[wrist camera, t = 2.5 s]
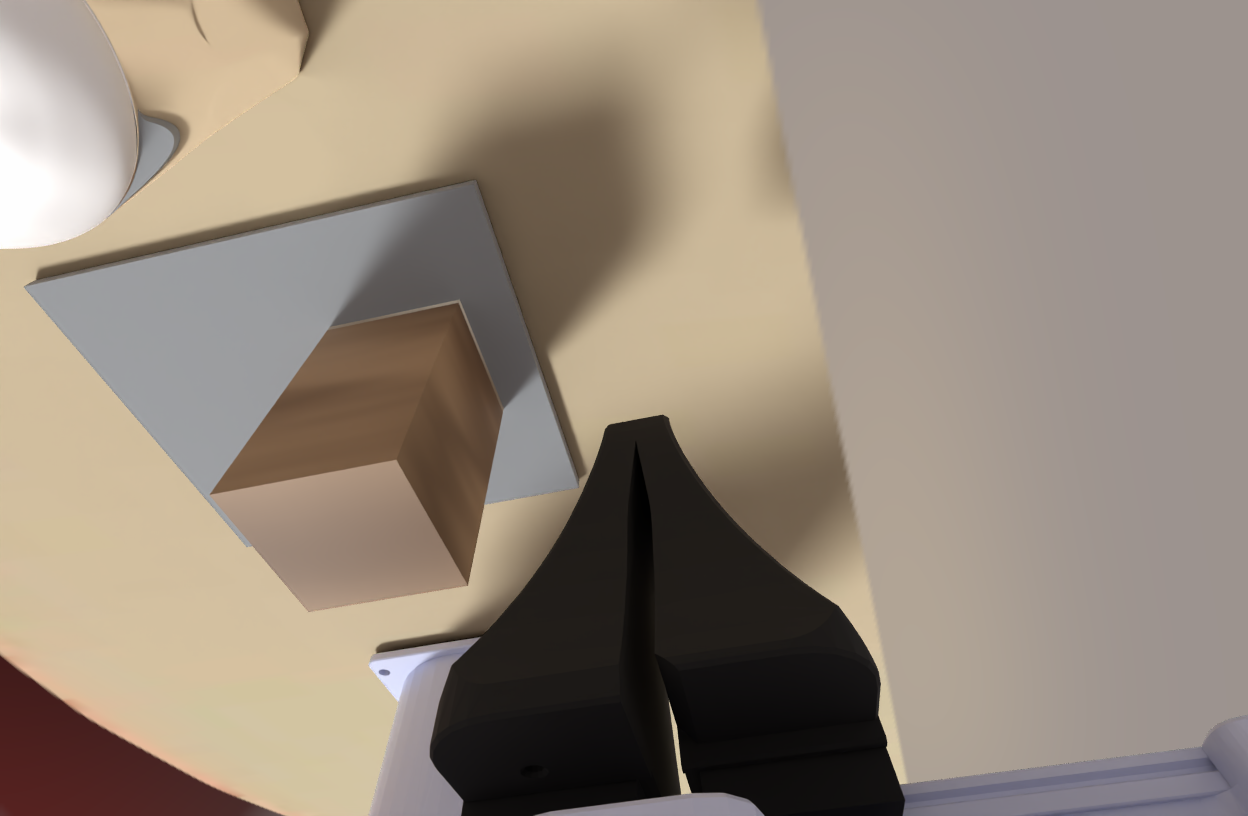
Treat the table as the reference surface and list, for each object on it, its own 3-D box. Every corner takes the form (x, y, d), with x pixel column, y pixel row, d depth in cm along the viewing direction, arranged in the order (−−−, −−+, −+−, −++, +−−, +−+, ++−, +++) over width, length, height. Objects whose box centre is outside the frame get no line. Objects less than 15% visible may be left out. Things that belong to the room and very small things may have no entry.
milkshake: (273, -187, 12) (-390, -478, 4) (367, 112, 15) (107, 291, 7) (46, -159, 12) (-1049, -386, 4) (186, 132, 15) (-272, 330, 7)
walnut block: (503, 408, 20) (468, 585, 14) (388, 430, 20) (308, 612, 15) (459, 299, 18) (396, 459, 12) (329, 326, 18) (209, 495, 12)
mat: (578, 480, 23) (578, 487, 22) (251, 538, 24) (246, 547, 23) (476, 179, 16) (473, 183, 16) (34, 280, 17) (23, 287, 17)
